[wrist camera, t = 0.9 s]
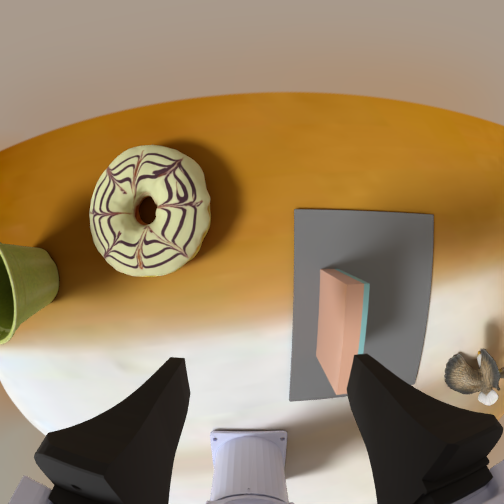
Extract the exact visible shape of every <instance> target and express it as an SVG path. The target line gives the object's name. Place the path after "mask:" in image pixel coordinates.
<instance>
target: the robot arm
mask: <svg viewBox="0 0 504 504" xmlns="http://www.w3.org/2000/svg"><path fill="white" fill-rule="evenodd" d="M346 390H347V394H348V398H349V403H350V407H351V410H352V412H353V415H354V417H355V420H356V422H357V425H358V427H359V430H360V432H361V435H362V438H363V440H364V443H365V445H366V448H367V451H368V455H369V459H370V463H371V468H372V472H373V478H374V483H375V489H376V496H377V504H504V460H502V461H501V462H499V463H497V464H496V465H495V466H493V467H492V468H491V469H490V470H489V469H488V467H487V466H486V465H488V463H489V460H488V458H487V455H488V454H489V452H490V451H491V450H492V449H493V447H494V446H495V445H496V443H497V442H498V440H499V439H500V437H501V435H502V433H503V427H502V426H501V424H500V423H499V422H498V420H497V419H496V418H495V416H494V415H491V414H484V413H478V412H473V411H469V410H465V409H461V408H458V407H455V406H452V405H449V404H446V403H444V402H441V401H439V400H437V399H434V398H432V397H430V396H429V395H427V394H425V393H423V392H421V391H419V390H417V389H416V388H414V387H413V386H411V385H409V384H408V383H406V382H405V381H403V380H402V379H401V378H399V377H398V376H396V375H395V374H394V373H392V372H391V371H390V370H388V369H387V368H386V367H384V366H383V365H382V364H381V363H379V362H378V361H377V360H375V359H374V358H373V357H371V356H370V355H369V354H367V353H366V354H357V355H354V358H353V363H352V368H351V372H350V376H349V381H348V385H347V389H346ZM189 398H190V389H189V383H188V377H187V371H186V365H185V358H173V357H171V358H169V359H168V360H167V361H166V362H165V363H164V364H163V365H162V366H161V367H160V368H159V369H158V370H157V371H156V372H155V373H154V374H153V375H152V376H151V377H150V378H149V379H148V380H147V381H146V382H145V383H144V384H143V385H142V386H141V387H139V388H138V389H137V390H136V391H135V392H133V393H132V394H131V395H130V396H128V397H127V398H126V399H124V400H123V401H122V402H120V403H119V404H117V405H116V406H114V407H113V408H111V409H109V410H107V411H105V412H104V413H102V414H100V415H98V416H96V417H94V418H92V419H90V420H87V421H85V422H83V423H80V424H77V425H75V426H72V427H69V428H65V429H62V430H58V431H54V432H50V433H48V434H47V435H46V437H45V439H44V440H43V442H42V443H41V445H40V447H39V448H38V450H37V452H36V453H35V455H34V459H35V461H36V464H37V465H38V466H39V467H40V469H41V470H42V471H43V472H44V473H45V475H46V476H47V477H48V478H49V479H50V480H51V481H52V483H53V484H54V487H53V489H52V490H51V489H50V488H48V487H47V486H45V485H43V484H41V483H39V482H37V481H35V480H33V479H31V478H30V477H28V476H25V475H24V476H23V477H22V479H21V481H20V483H19V485H18V486H17V488H16V490H15V492H14V493H13V495H12V497H11V499H10V501H9V503H8V504H168V501H169V491H170V483H171V475H172V468H173V462H174V457H175V453H176V449H177V446H178V442H179V439H180V436H181V432H182V429H183V426H184V422H185V419H186V415H187V411H188V405H189ZM282 437H284V438H282ZM214 438H217V439H214ZM210 440H211V449H212V457H213V465H214V474H213V482H212V489H211V497H210V501H207V502H206V504H294V503H293V502H290V503H289V500H288V493H287V486H286V480H285V473H284V468H285V458H286V447H287V432H286V431H283V430H282V431H212V432H211V433H210Z"/></svg>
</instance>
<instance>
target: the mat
mask: <svg viewBox="0 0 504 504" xmlns="http://www.w3.org/2000/svg"><path fill="white" fill-rule="evenodd" d="M433 233H434V217H433V215H431V214H415V213H397V212H376V211H350V210H310V209H294V302H293V334H292V358H291V378H290V395H289V401H304V400H317V399H327V398H336V397H344V396H348V394H341V395H336V393H335V392H334V390H333V388H332V386H331V384H330V382H329V380H328V378H327V376H326V374H325V372H324V370H323V368H322V366H321V364H320V362H319V361H318V359H317V357H316V349H317V334H318V316H319V295H320V269H340V270H342V271H344V272H346V273H348V274H350V275H352V276H355V277H357V278H359V279H361V280H363V281H365V282H367V283H369V284H370V289H369V303H368V315H367V325H366V335H365V343H364V351H363V354H366V353H367V354H369V355H370V356H371V357H373V358H374V359H375V360H377V361H378V362H379V363H381V364H382V365H383V366H384V367H386V368H387V369H388V370H390V371H391V372H392V373H394V374H395V375H396V376H398V377H399V378H401V379H402V380H403V381H405V382H406V383H408V384H409V385H413V384H415V380H416V376H417V372H418V367H419V362H420V357H421V352H422V347H423V341H424V336H425V329H426V323H427V316H428V308H429V299H430V289H431V278H432V263H433Z"/></svg>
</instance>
